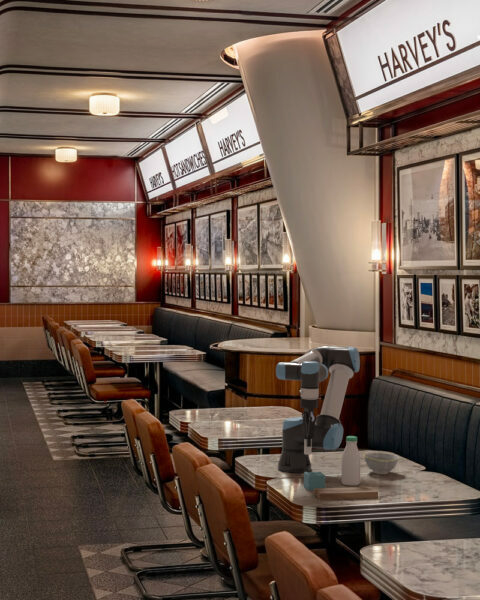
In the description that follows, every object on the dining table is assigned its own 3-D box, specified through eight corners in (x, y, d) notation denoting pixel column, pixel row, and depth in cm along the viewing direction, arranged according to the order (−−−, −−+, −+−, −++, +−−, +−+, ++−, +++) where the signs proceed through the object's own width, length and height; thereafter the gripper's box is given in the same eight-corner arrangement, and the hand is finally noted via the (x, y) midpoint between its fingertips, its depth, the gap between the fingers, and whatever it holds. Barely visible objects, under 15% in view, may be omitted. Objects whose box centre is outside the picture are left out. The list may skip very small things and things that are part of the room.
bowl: (404, 471, 397) (404, 455, 397) (390, 478, 384) (390, 461, 384) (371, 467, 406) (372, 450, 406) (356, 473, 393) (357, 456, 392)
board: (313, 494, 352) (314, 488, 352) (370, 493, 357) (370, 486, 357) (319, 499, 344) (320, 493, 344) (378, 498, 349) (378, 491, 349)
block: (303, 486, 366) (304, 472, 366) (319, 486, 368) (320, 471, 367) (308, 490, 359) (308, 476, 359) (324, 490, 361) (325, 475, 361)
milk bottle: (359, 486, 367) (360, 438, 367) (340, 485, 369) (341, 437, 368) (360, 482, 375) (361, 435, 374) (342, 481, 377) (343, 434, 376)
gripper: (296, 396, 378) (294, 451, 378) (305, 400, 365) (303, 457, 365) (313, 396, 379) (311, 450, 380) (322, 400, 367) (320, 456, 367)
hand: (307, 453), depth 373 cm, fingers closed
